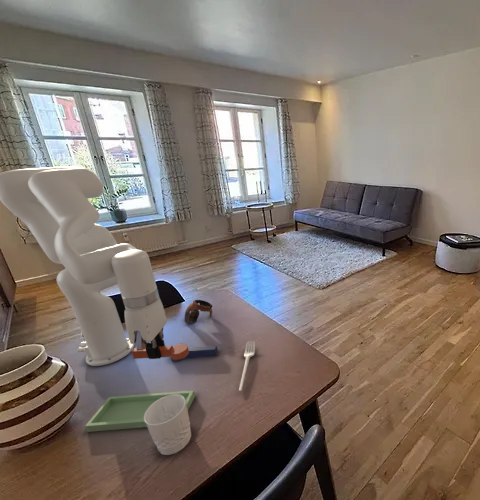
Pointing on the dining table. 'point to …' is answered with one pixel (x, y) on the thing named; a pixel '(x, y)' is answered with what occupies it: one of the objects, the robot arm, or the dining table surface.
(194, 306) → the orange headphones
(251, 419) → the dining table surface
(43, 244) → the robot arm
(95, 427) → the tray
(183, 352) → the terracotta spoon
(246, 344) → the fork
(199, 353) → the blue spoon
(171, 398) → the white cup
